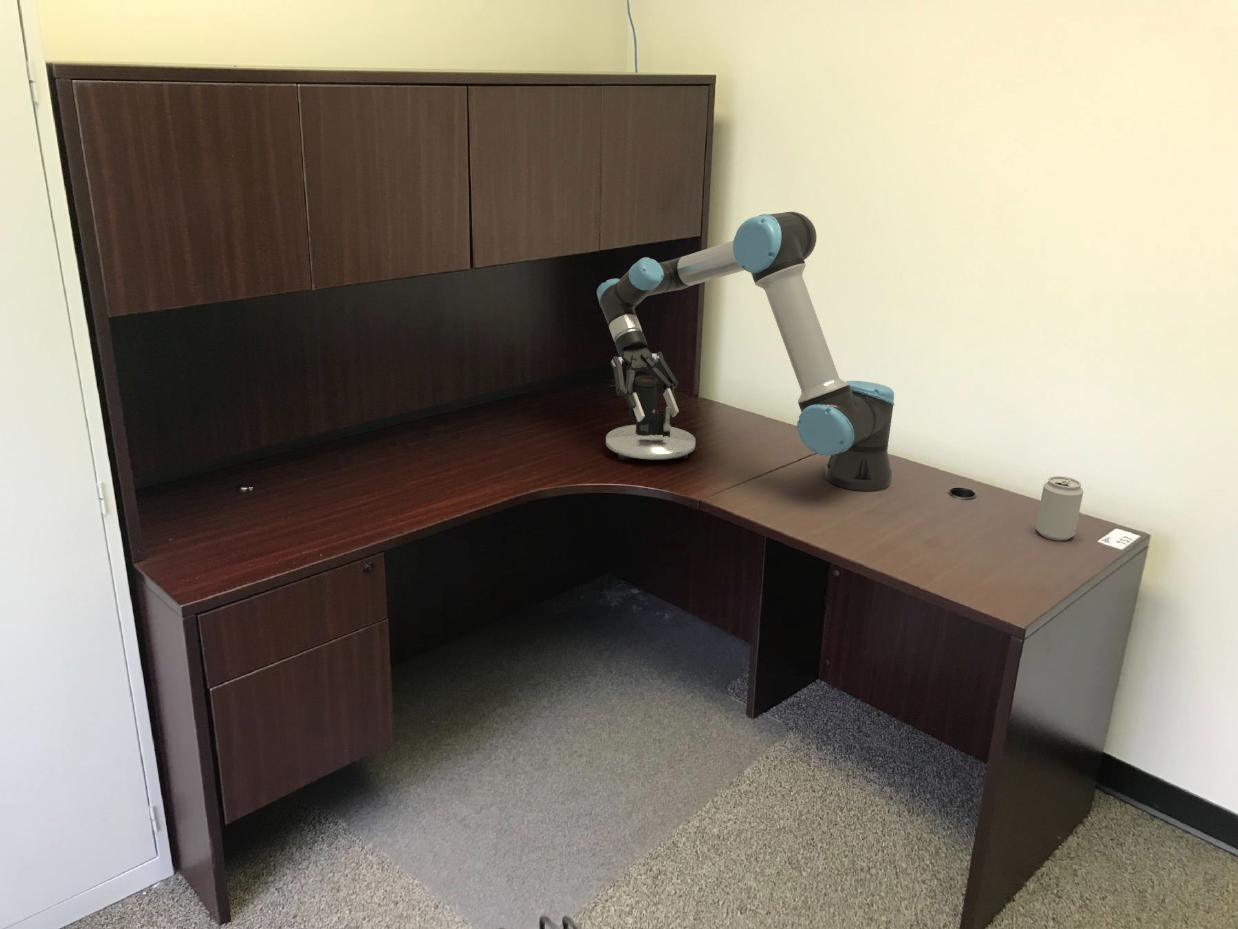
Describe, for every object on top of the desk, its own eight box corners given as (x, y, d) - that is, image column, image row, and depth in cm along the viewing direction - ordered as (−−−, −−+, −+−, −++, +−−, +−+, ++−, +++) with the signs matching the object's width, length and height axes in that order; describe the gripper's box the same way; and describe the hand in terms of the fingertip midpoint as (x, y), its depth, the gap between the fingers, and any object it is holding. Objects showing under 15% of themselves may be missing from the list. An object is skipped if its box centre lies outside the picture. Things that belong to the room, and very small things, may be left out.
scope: (673, 383, 240) (631, 383, 239) (670, 438, 244) (629, 438, 244) (669, 374, 247) (628, 373, 246) (666, 428, 252) (626, 427, 251)
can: (1028, 533, 209) (1038, 479, 205) (1044, 524, 214) (1054, 471, 210) (1064, 545, 204) (1075, 490, 200) (1080, 535, 209) (1091, 481, 205)
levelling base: (713, 455, 248) (714, 442, 247) (644, 473, 235) (644, 459, 234) (655, 431, 264) (655, 419, 263) (587, 447, 251) (588, 434, 250)
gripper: (660, 341, 259) (690, 418, 252) (584, 349, 249) (613, 429, 242) (671, 325, 253) (702, 403, 246) (595, 332, 243) (624, 414, 236)
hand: (658, 416), depth 244 cm, fingers closed on scope, 9 cm apart
